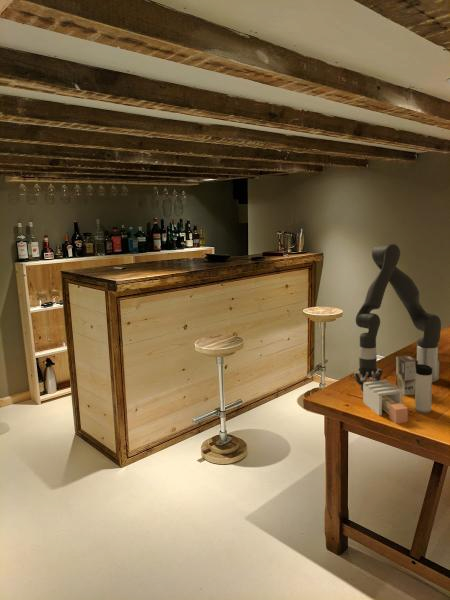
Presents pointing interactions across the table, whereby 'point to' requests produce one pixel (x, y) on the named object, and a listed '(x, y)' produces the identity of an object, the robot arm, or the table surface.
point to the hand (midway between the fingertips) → (367, 391)
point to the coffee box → (406, 374)
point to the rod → (386, 403)
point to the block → (398, 413)
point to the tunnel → (380, 394)
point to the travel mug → (423, 388)
